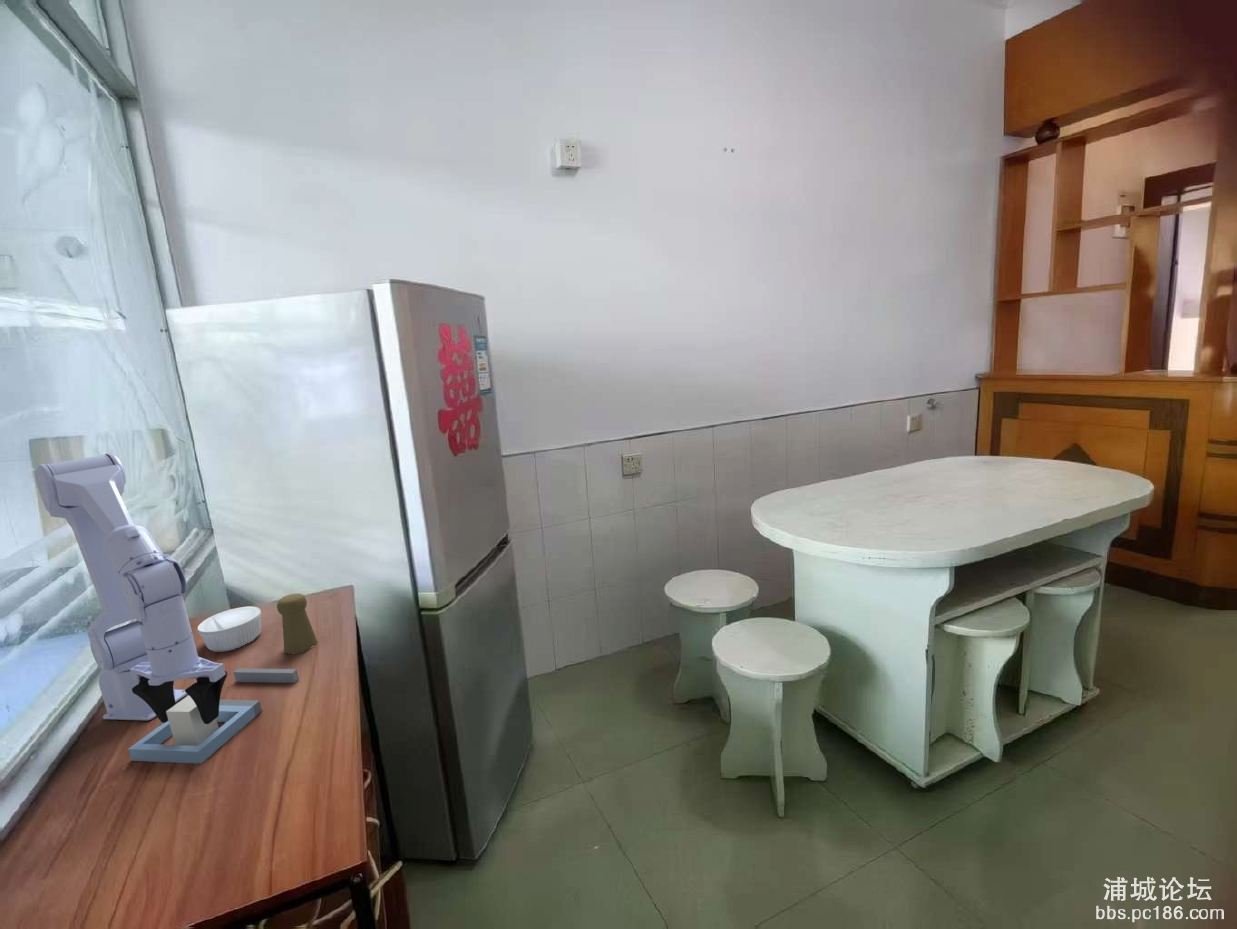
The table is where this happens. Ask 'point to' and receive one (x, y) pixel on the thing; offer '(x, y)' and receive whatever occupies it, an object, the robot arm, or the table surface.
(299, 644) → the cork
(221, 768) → the table surface
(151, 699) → the robot arm
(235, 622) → the ramekin
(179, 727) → the cream white block
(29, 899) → the table surface
